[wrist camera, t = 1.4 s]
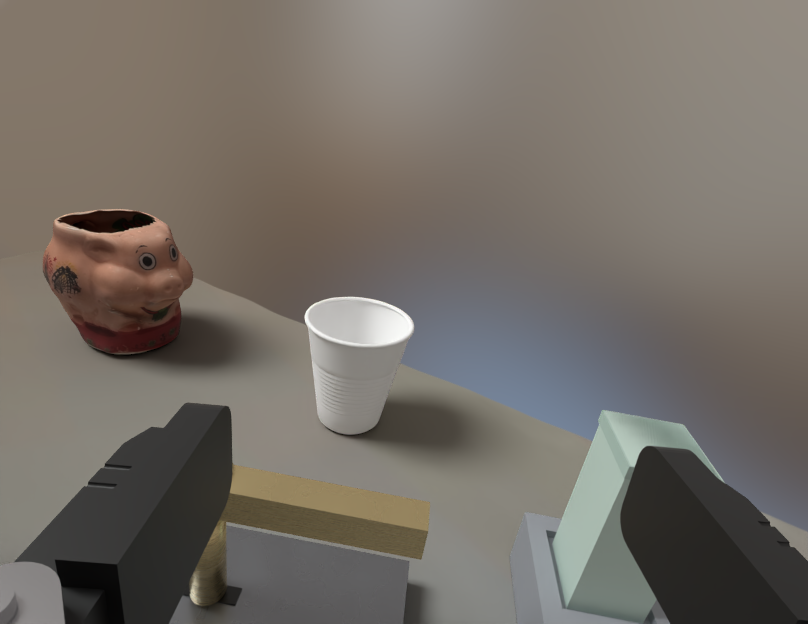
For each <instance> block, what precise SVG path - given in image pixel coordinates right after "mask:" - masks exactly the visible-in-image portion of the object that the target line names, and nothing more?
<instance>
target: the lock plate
mask: <svg viewBox="0 0 808 624" xmlns="http://www.w3.org/2000/svg"><path fill="white" fill-rule="evenodd" d="M226 548H227V589H226V592H225V594H224V595H223V597H222V598H221V599H220V600H219V601H217V602H216V603H214V604H212V605H208V606H199V605H197V604H195V603H194V602H193V601H192V600H191V598H190V590H189V583H188V585H187V587H186V589H185V591H184V593H183V595H182V598H181V600H180V602H179V604H178V606H177V608H176V610H175V612H174V614H173V616H172V618H171V620H170V622H169V624H403V619H404V610H405V600H406V590H407V580H408V570H409V561H406V560H401V559H395V558H390V557H385V556H380V555H375V554H370V553H365V552H360V551H354V550H349V549H344V548H339V547H334V546H329V545H324V544H319V543H313V542H308V541H303V540H298V539H293V538H288V537H283V536H277V535H272V534H267V533H262V532H257V531H252V530H247V529H242V528H236V527H231V526H226Z"/></svg>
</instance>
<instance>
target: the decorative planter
mask: <svg viewBox="0 0 808 624" xmlns="http://www.w3.org/2000/svg"><path fill="white" fill-rule="evenodd" d="M43 273H44V275H45V278H46V280H47V282H48V284H49V286H50V287H51V289H52V291H53V292H54V294H55V295H56V296H57V297H58V299H59V300H60V302H61V304H62V306H63V308H64V309H65V311H66V312H67V314H68V315H69V317H70V318H71V320H72V321H73V323H74V324H75V325H76V326H77V328H78V330H79V332H80V334H81V336H82V338H83V339H84V341H85V342H86V343H87V344H89V345H90V346H92V347H94V348H96V349H99V350H102V351H104V352H107V353H112V354H135V353H142V352H146V351H149V350H152V349H156V348H159V347H161V346H163V345H165V344H167V343H169V342H171V341H172V340H173V339H175V338H176V336H177V335H178V332H179V329H180V324H181V308H180V303H179V297H180V296H181V295H182V293H183V291H185V290H186V289H188V288H189V287H190V286H191V284H192V281H193V271H192V268H191V266H190V264H189V263H188V261H187V260H186V259H185V257H184V256H183V255H182V254H181V253H180V251H179V250H178V248H177V246H176V244H175V242H174V240H173V237H172V233H171V230H170V228H169V226H168V225H167V224H165V223H163V222H162V221H160V220H159V219H157V218H156V217H154V216H152V215H149V214H146V213H143V212H139V211H134V210H124V209H108V210H94V211H87V212H79V213H71V214H66V215H63V216H61V217H59V218H57V219H56V220H55V221H54V223H53V237H52V240H51V242H50V243H49V245H48V247H47V248H46V250H45V253H44V256H43Z"/></svg>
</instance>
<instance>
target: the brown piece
mask: <svg viewBox="0 0 808 624" xmlns="http://www.w3.org/2000/svg"><path fill="white" fill-rule="evenodd" d="M429 510H430V502H426V501H420V500H415V499H410V498H405V497H400V496H394V495H389V494H384V493H379V492H373V491H368V490H363V489H358V488H352V487H347V486H342V485H337V484H331V483H326V482H321V481H316V480H310V479H305V478H300V477H295V476H289V475H284V474H279V473H274V472H268V471H263V470H258V469H253V468H248V467H242V466H237V465H233V463H232V483H231V489H230V494H229V498H228V501H227V504H226V506H225V509H224V511H223V513H222V515H221V517H220V519H219V521H218V523H217V525H216V527H215V529H214V532H213V534H212V536H211V538H210V540H209V542H208V544H207V546H206V548H205V550H204V552H203V554H202V556H201V558H200V560H199V562H198V565H197V567H196V569H195V571H194V573H193V575H192V577H191V579H190V581H189V590H190V598H191V600H192V601H193V602H194V603H195V604H197V605H199V606H208V605H212V604H214V603H216V602H217V601H219V600H220V599H221V598H222V597H223V595H224V594H225V592H226V589H227V548H226V522H231V523H236V524H241V525H246V526H251V527H256V528H262V529H267V530H272V531H277V532H282V533H287V534H292V535H298V536H303V537H308V538H313V539H318V540H323V541H328V542H333V543H339V544H344V545H349V546H354V547H359V548H364V549H369V550H375V551H380V552H385V553H390V554H395V555H400V556H405V557H410V558H416V559H422V555H423V551H424V546H425V542H426V538H427V534H428V525H429Z"/></svg>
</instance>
